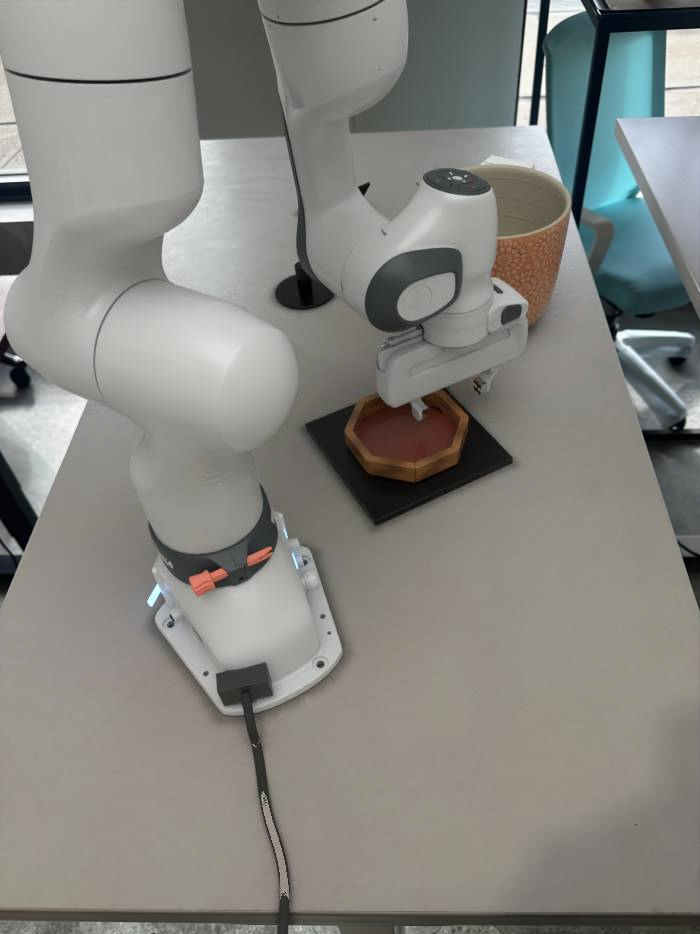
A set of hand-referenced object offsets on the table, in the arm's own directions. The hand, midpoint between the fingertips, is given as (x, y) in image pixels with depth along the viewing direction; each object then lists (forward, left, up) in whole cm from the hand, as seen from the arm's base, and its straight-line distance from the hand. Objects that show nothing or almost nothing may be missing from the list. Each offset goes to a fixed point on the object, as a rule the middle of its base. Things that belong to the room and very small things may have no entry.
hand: (451, 403), depth 95 cm
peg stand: (+40, +3, -4) cm, 40 cm away
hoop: (0, +7, -3) cm, 7 cm away
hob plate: (0, +7, -4) cm, 8 cm away
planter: (+18, -18, -4) cm, 26 cm away
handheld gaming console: (+61, -13, -4) cm, 63 cm away
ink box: (+38, -35, -4) cm, 52 cm away
